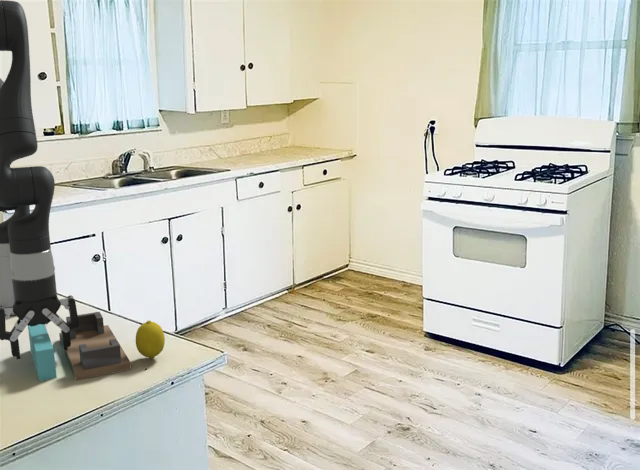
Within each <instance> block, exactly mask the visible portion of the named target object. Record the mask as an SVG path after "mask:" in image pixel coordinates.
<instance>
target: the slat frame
mask: <svg viewBox="0 0 640 470" xmlns="http://www.w3.org/2000/svg"><path fill="white" fill-rule="evenodd" d="M77 315H78V321H79V326H78V327H77V328H73V329H71V330H70V340H71V345H70V347H68V350H65V351H64V354H65V356H66V358H67V362H68V365H69V366H70V369H71V371H72V374H73V376H74V379H75V381H78V380H80V381H81V380H83V379H90V378H95V377H98V376H99V377H100V376H104V375H110V374H113V373H114V374H115V373H120V372H124V371H130V370H132V366H131V364H132V363H131V361H130V359H129V358H128V356H127V354H126V352H125V351H124V349H123V348H122V345H121V344H120V342H119V341H118V339H117V337H116V335H115V334H114V332H113V331H112V330H111V328H110V326H109V325H108V324H106V325H105V324H104V318H103V315H102V314H101V312H100V311H95V312H90V313H89V312H88V313H84V314H83V313H82V314H77ZM65 320H66V321H65V322H66V323H67V322H69V321H71V320H70V315H69V316H66V317H65ZM58 335H59V341H60V344H61V345H62V335H61V332H59V334H58ZM62 347H63V345H62Z"/></svg>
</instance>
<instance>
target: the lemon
mask: <svg viewBox="0 0 640 470" xmlns="http://www.w3.org/2000/svg"><path fill="white" fill-rule="evenodd" d="M165 342H166V339H165V333H164V331H163V327H161V325H160V324H158V323H157V322H155V321H151V320H147V321H146V322H143V323H142V324H141V325H139V327H138V328H137V330H136V333H135V346H136V349H137V351H138V353H139V354H140V355H141V356H143V357H145V358H148V359H149V360H153V359H154V358H155V357H156V356H159V355H160V354H161V353H162V352H163V350H164V347H165Z"/></svg>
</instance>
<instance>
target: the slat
mask: <svg viewBox="0 0 640 470" xmlns="http://www.w3.org/2000/svg"><path fill="white" fill-rule="evenodd" d="M27 331H28V339H29V349H30V353H31V357H32V360H33V363H34V367H35V371H36V374H37V378H38V381H39V382H41V381H47V380H52V379H57V370H56V367H57V366H56V360H55V359H56V358H55V350H54V346H53V343H52V340H51V337H50V334H49V332H48V329H47V327H46V324H44V325H43V324H39V325H36V326H32V327H31V326H28V325H27Z"/></svg>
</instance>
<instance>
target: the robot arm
mask: <svg viewBox="0 0 640 470" xmlns="http://www.w3.org/2000/svg"><path fill="white" fill-rule="evenodd" d="M28 27H29V26H28V20H27V17H26V12H25V9H24V8H23V5H22V4H21V3H20V2H18V1H15V0H0V52H11V64H10V68H9V72H8V74H7V76H6V78H5V80H3V79H2V78H0V212H6V211H7V212H8V211H14V213H13V214H12V215H11V216H10V217H9V218H8V219H6V220H4V221H2V222H0V341H9V342H10V343H9V344H10V350H11V351H10V352H11V355H12V357H14V358H16V360H21V358H22V357H21V350H20V343H19V337H20V336H21V334H22V333H23V332H24V330H25V328H26V327H28V326H31V327H32V326H36V325H39V324H43V325H44V324H45V325H49V323H50V322H52V323H53V324H54V325H55V326H56V327H58V328H59V329H60V333H61V335H62V344H61V345H63V346H62V349H63V351H64V352H65V350H68V347H70V345H71V340H70V330H71V329H73V328H77V327H78V326H79V321H78V315H79V314H78V311H77V310H78V309H77V305H76V299H75V298H74V296H73V295H71V294H70V295H68V296H67V297H66V298H61V299H59V298H58V293H57V283H56V272H55V270H56V267H55V261H54V256H53V253H52V246H51V239H50V216H51V215H50V213H51V209H52V203H53V199H54V194H55V187H56V185H55V182H56V181H55V178H54V176H53V173H52V172H51V171H50V170H49V169H48V168H47V167H45V166H42V165H41V166H39V165H37V166H22V167H11V165H12V163H13V162H15V161H17V160H20V159H24V158H27V157H29V156H34V154H36V152H37V151H38V140H37V139H38V138H37V132H36V128H35V127H36V126H35V121H34V116H33V115H34V114H33V107H32V96H31V95H32V91H31V90H32V87H31V85H32V84H31V83H32V82H31V81H32V80H31V60H30V59H31V58H30V44H29V43H30V42H29V28H28ZM30 206H35V207H34V209H32V212H31V210H30V209H31V208H30ZM61 306H63V307H64V309H65V310H68V313H69V316H70V320H71V321H69V322H66V321H65V319H62V317H61V316H60V315H59V314H58V311H59V309H60V308H61ZM10 316H16V317H17V320H16V322H15V323H14V325H13V327H12V329H11V330H10V331H9V330H8V331H7V329H6V320H8V319H9V318H10Z"/></svg>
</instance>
